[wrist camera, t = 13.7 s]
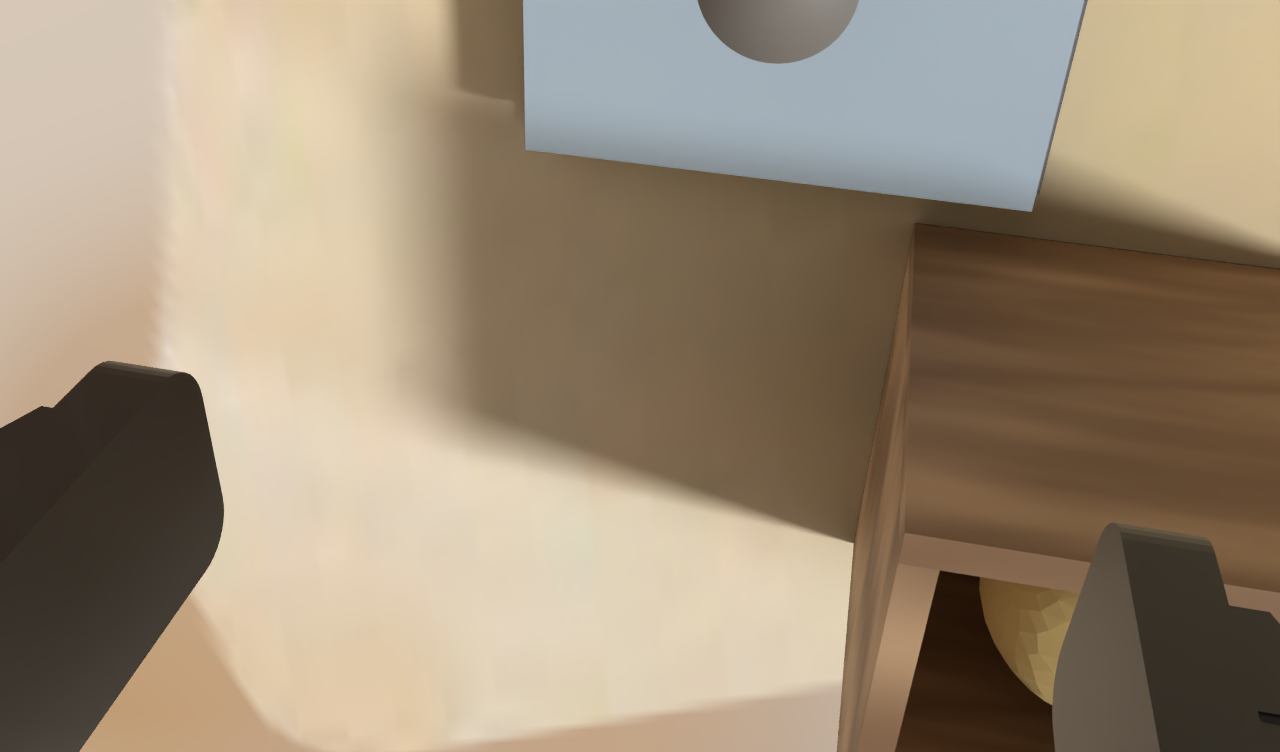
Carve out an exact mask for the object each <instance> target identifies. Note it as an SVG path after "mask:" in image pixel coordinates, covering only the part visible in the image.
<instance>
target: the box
mask: <svg viewBox="0 0 1280 752" xmlns="http://www.w3.org/2000/svg"><path fill="white" fill-rule="evenodd" d="M1112 522H1114V523H1121V524H1127V525H1133V526H1140V527H1146V528H1152V529H1159V530H1165V531H1171V532H1178V533H1184V534H1190V535H1196V536H1203V537H1206V538H1207V539H1208V540H1209V541H1210V542H1211V544H1212V546H1213V548H1214V551H1215V554H1216V558H1217V562H1218V566H1219V569H1220V573H1221V577H1222V580H1223V584H1224V588H1225V592H1226V595H1227V599H1228V603H1229V605H1230V606H1236V607H1242V608H1248V609H1254V610H1260V611H1266V612H1270V613H1271V614H1272V615H1273V616H1274V618H1275V619H1276V620H1277V621H1278V622H1279V624H1280V269H1272V268H1264V267H1256V266H1248V265H1240V264H1232V263H1224V262H1216V261H1208V260H1200V259H1192V258H1185V257H1177V256H1169V255H1161V254H1153V253H1145V252H1137V251H1129V250H1121V249H1113V248H1105V247H1097V246H1089V245H1081V244H1074V243H1066V242H1058V241H1050V240H1042V239H1034V238H1026V237H1018V236H1010V235H1002V234H994V233H986V232H978V231H970V230H963V229H955V228H947V227H939V226H931V225H923V224H914V229H913V235H912V240H911V245H910V250H909V256H908V261H907V266H906V272H905V277H904V282H903V287H902V293H901V298H900V303H899V309H898V314H897V319H896V324H895V330H894V335H893V340H892V346H891V351H890V356H889V361H888V367H887V372H886V377H885V383H884V388H883V393H882V398H881V404H880V409H879V414H878V419H877V425H876V430H875V435H874V441H873V446H872V451H871V456H870V462H869V467H868V472H867V478H866V483H865V488H864V493H863V499H862V504H861V509H860V515H859V520H858V525H857V530H856V536H855V541H854V548H853V561H852V573H851V585H850V597H849V610H848V622H847V634H846V646H845V658H844V671H843V683H842V695H841V707H840V720H839V732H838V745H837V752H1055V743H1054V733H1053V720H1052V705H1051V704H1049V703H1047V702H1045V701H1044V700H1042V699H1041V698H1040V697H1038V696H1037V695H1036V694H1034V693H1033V692H1032V691H1031V690H1029V689H1028V687H1027V686H1026V685H1025V684H1024V683H1023V682H1022V681H1021V680H1020V679H1019V678H1018V677H1017V676H1016V675H1015V674H1014V673H1013V671H1012V670H1011V669H1010V667H1009V666H1008V664H1007V663H1006V661H1005V660H1004V658H1003V657H1002V655H1001V653H1000V652H999V650H998V649H997V647H996V645H995V644H994V641H993V639H992V636H991V634H990V632H989V629H988V627H987V624H986V622H985V618H984V613H983V607H982V602H981V596H980V590H979V586H980V577H984V578H990V579H996V580H1002V581H1008V582H1014V583H1020V584H1026V585H1032V586H1039V587H1045V588H1051V589H1057V590H1063V591H1069V592H1075V593H1081V590H1082V587H1083V584H1084V581H1085V578H1086V575H1087V572H1088V570H1089V567H1090V564H1091V561H1092V558H1093V555H1094V552H1095V550H1096V547H1097V544H1098V541H1099V539H1100V536H1101V534H1102V532H1103V530H1104V529H1105V527H1106V526H1107V525H1108V524H1109V523H1112Z"/></svg>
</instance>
